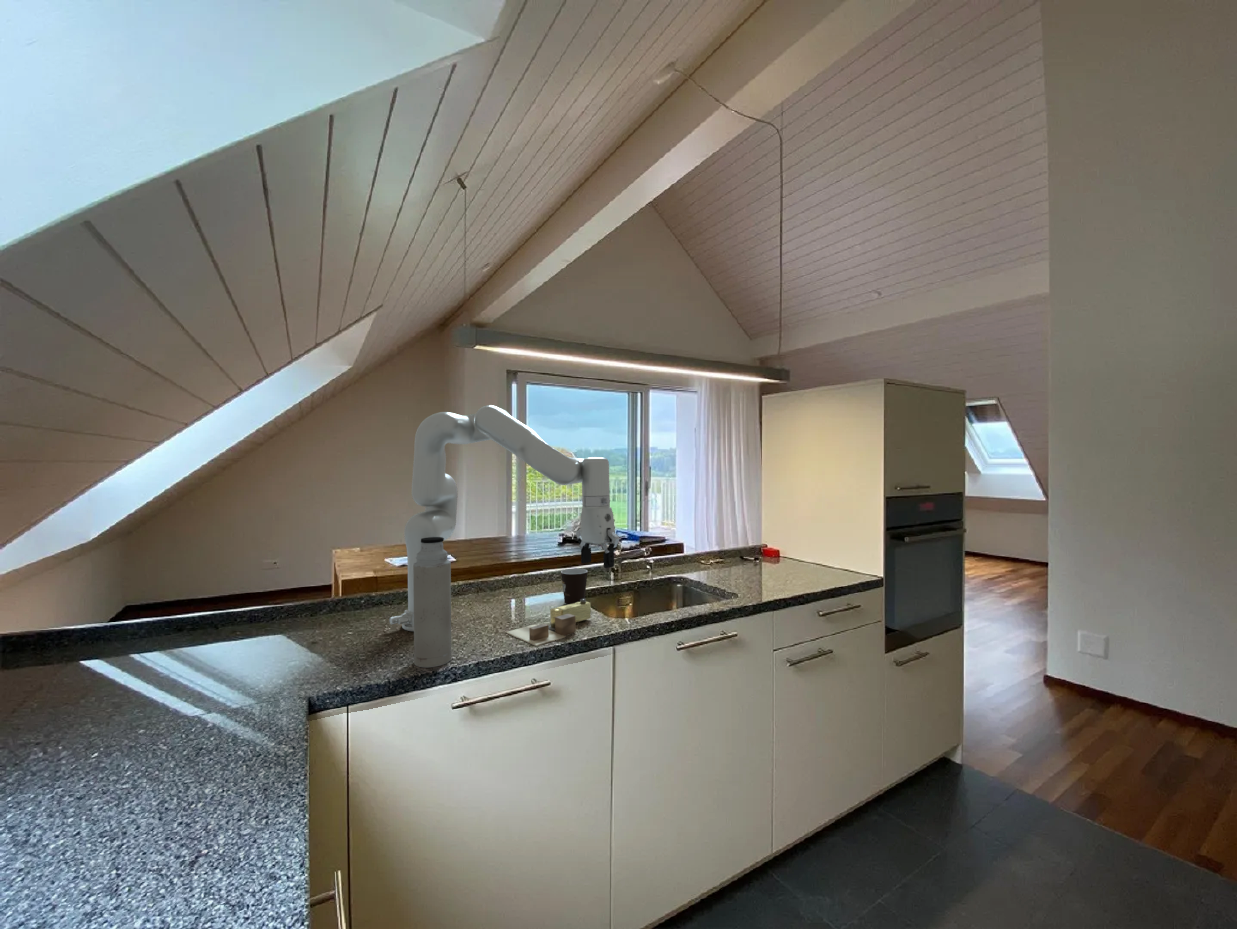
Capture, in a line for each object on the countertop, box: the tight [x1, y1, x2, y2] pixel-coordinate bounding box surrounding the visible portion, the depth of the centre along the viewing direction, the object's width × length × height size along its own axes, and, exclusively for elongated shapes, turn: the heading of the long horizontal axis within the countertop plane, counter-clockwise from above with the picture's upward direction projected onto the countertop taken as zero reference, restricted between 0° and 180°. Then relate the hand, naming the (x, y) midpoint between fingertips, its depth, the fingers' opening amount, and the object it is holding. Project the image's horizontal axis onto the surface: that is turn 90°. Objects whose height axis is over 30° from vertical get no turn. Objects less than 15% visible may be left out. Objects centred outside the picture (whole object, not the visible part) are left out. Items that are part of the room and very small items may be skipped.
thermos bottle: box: [413, 537, 452, 669], centre depth 115 cm, size 8×8×28 cm
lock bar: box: [549, 598, 592, 628], centre depth 141 cm, size 13×3×5 cm, turn 134°
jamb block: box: [554, 614, 576, 637], centre depth 134 cm, size 4×3×4 cm
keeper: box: [529, 623, 549, 641], centre depth 129 cm, size 5×2×3 cm, turn 134°
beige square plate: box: [505, 624, 567, 647], centre depth 134 cm, size 14×14×1 cm
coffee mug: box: [560, 568, 588, 605], centre depth 166 cm, size 12×9×10 cm
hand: (597, 564), depth 139 cm, fingers open, 9 cm apart
